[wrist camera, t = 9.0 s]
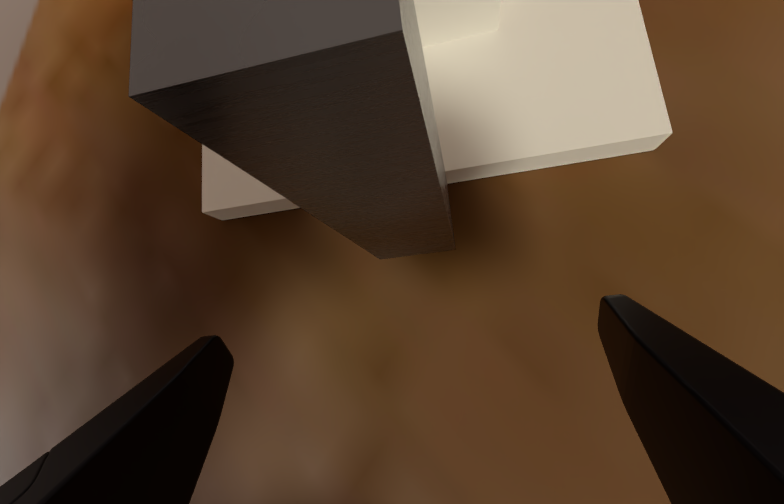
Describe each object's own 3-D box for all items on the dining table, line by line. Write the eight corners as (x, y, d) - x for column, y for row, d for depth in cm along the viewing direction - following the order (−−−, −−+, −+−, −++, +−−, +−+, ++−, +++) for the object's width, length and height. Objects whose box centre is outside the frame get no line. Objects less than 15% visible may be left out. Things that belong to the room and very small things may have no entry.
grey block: (455, 249, 15) (402, 29, 4) (380, 259, 15) (129, 96, 4) (422, -3, 17) (327, -627, 6) (358, 13, 17) (157, -525, 6)
